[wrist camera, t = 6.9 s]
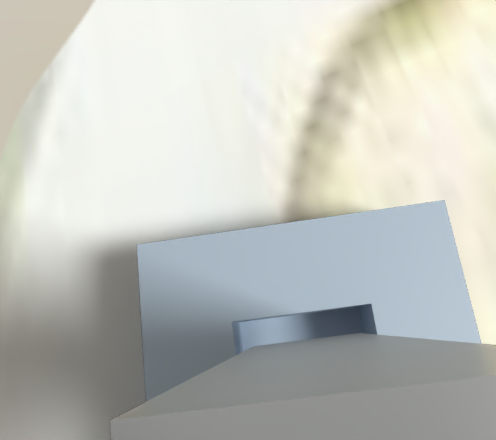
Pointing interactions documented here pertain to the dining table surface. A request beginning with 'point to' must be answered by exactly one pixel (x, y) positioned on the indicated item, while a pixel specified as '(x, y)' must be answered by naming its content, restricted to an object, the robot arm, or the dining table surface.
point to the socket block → (299, 287)
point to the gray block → (330, 394)
